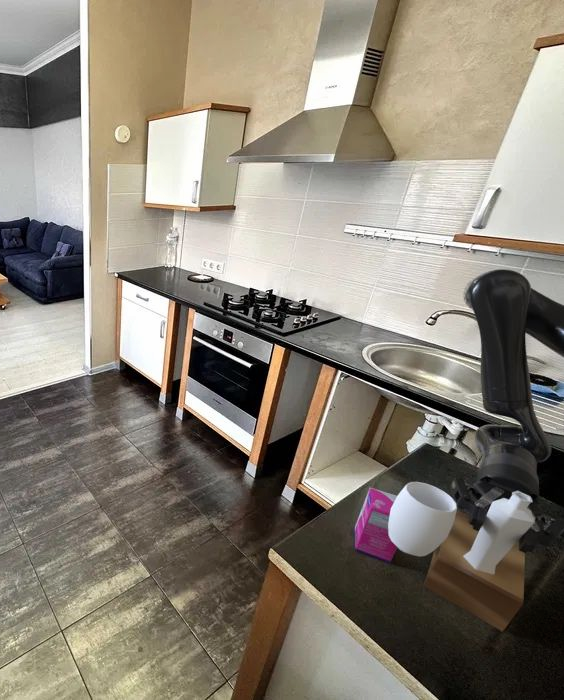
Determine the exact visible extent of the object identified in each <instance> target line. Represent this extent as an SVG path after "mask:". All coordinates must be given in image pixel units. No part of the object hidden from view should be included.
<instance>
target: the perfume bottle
mask: <svg viewBox="0 0 564 700" xmlns="http://www.w3.org/2000/svg"><path fill="white" fill-rule="evenodd" d="M512 494H513V495H512V496H511V498H510V499H509V500H508V499H506V498H502V499H499V500H496V501H493V502H492V504H491V506H490V508H489V511H488V513H487V514H485V520H484V523H483V525H482V527H481V529H480V531H479V533H478V535H477V537H476V539H475V542H474V544H473V546H472V548H471V551H469V552H468V553H467V554H465V555H464V556H463V557H464V558H465V559H466V560H467V561H468V562H469V563H470V564H471V565H472V566H473V568H474V569H476V570H478V571H482V572H486V573H490V574H494V573H495V567H496V565H497V564H498V562H499V561H500V560H501V559H502V558H503V557H504V556H505V555H506V554H507V552H508V551H509V550H510V549H511V548H512V547H513V546H514V545H515V544H516V542H517V541H518V540H519V539H520V538H521V537H522V536H523V535H524V534H525V532H526V531H527V530H528V529H529V528H530V527H531V526H532V525H533V524H534V522H536V521H534V518H533V515H532V512H531V510H529V509H528V508H527V507H528V505H529V504H530V503H531V502H533V501H532V498H531V497H530V496H528V495H526V494H524V493H522V492H519V491H515V492H512Z"/></svg>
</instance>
